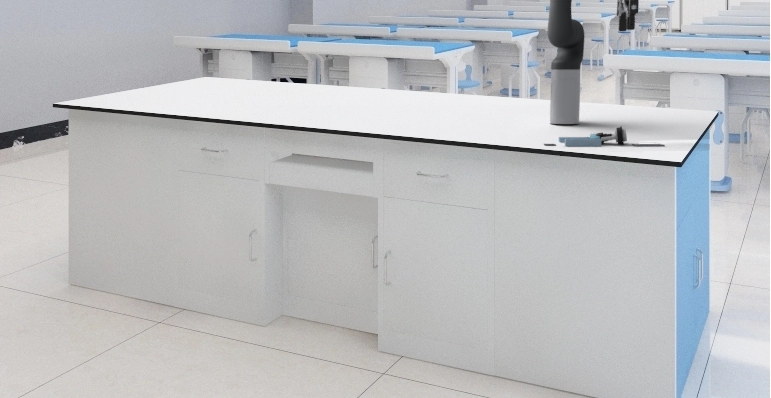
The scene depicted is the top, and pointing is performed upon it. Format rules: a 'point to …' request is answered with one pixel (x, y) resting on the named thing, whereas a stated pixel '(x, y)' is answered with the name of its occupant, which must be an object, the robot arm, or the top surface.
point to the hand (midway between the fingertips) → (626, 30)
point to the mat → (648, 145)
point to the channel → (580, 141)
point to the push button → (611, 136)
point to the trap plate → (550, 144)
